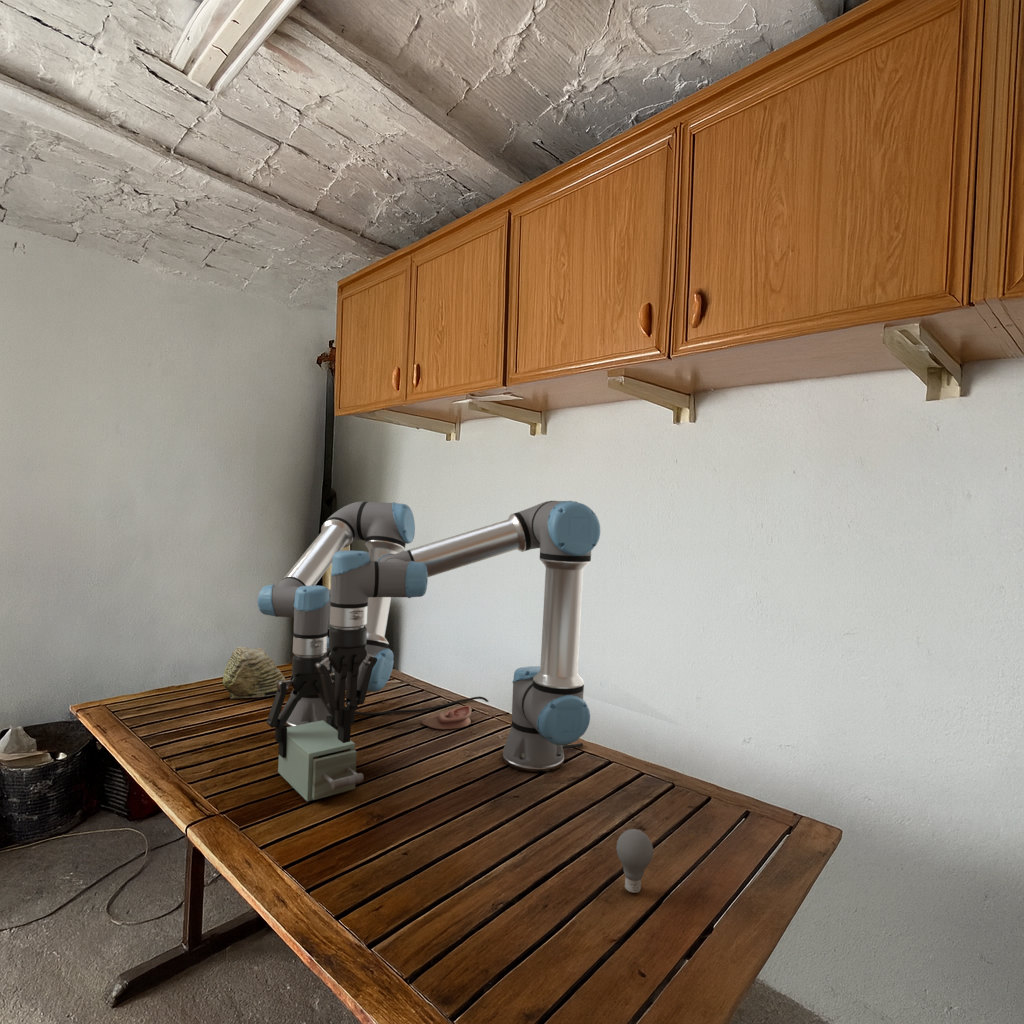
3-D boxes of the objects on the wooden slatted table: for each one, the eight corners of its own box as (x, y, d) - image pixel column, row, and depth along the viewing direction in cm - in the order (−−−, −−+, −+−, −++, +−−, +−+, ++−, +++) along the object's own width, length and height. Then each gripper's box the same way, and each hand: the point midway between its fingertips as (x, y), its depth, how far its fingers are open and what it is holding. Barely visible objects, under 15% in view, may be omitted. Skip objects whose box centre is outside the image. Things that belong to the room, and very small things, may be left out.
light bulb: (610, 879, 108) (613, 822, 108) (644, 879, 109) (647, 822, 109) (619, 902, 102) (622, 840, 102) (655, 901, 103) (658, 840, 103)
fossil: (218, 695, 195) (220, 647, 195) (278, 685, 208) (279, 640, 207) (228, 703, 189) (230, 653, 188) (289, 692, 201) (290, 645, 201)
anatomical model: (418, 712, 176) (431, 700, 187) (417, 726, 176) (431, 713, 188) (464, 718, 174) (475, 705, 185) (463, 732, 174) (474, 718, 185)
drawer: (368, 800, 131) (370, 761, 131) (326, 812, 125) (328, 772, 125) (325, 763, 148) (326, 729, 148) (286, 772, 142) (287, 737, 142)
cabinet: (353, 788, 138) (355, 743, 138) (307, 801, 131) (308, 753, 131) (321, 761, 151) (323, 720, 151) (277, 772, 144) (279, 728, 144)
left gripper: (264, 664, 135) (260, 767, 135) (363, 651, 149) (359, 744, 150) (253, 656, 140) (249, 755, 141) (349, 645, 155) (345, 734, 155)
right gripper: (325, 632, 123) (320, 753, 123) (385, 626, 131) (381, 739, 132) (310, 625, 129) (305, 741, 129) (368, 620, 137) (364, 728, 137)
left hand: (306, 750), depth 145 cm, fingers closed on cabinet, 10 cm apart
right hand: (343, 740), depth 130 cm, fingers closed
